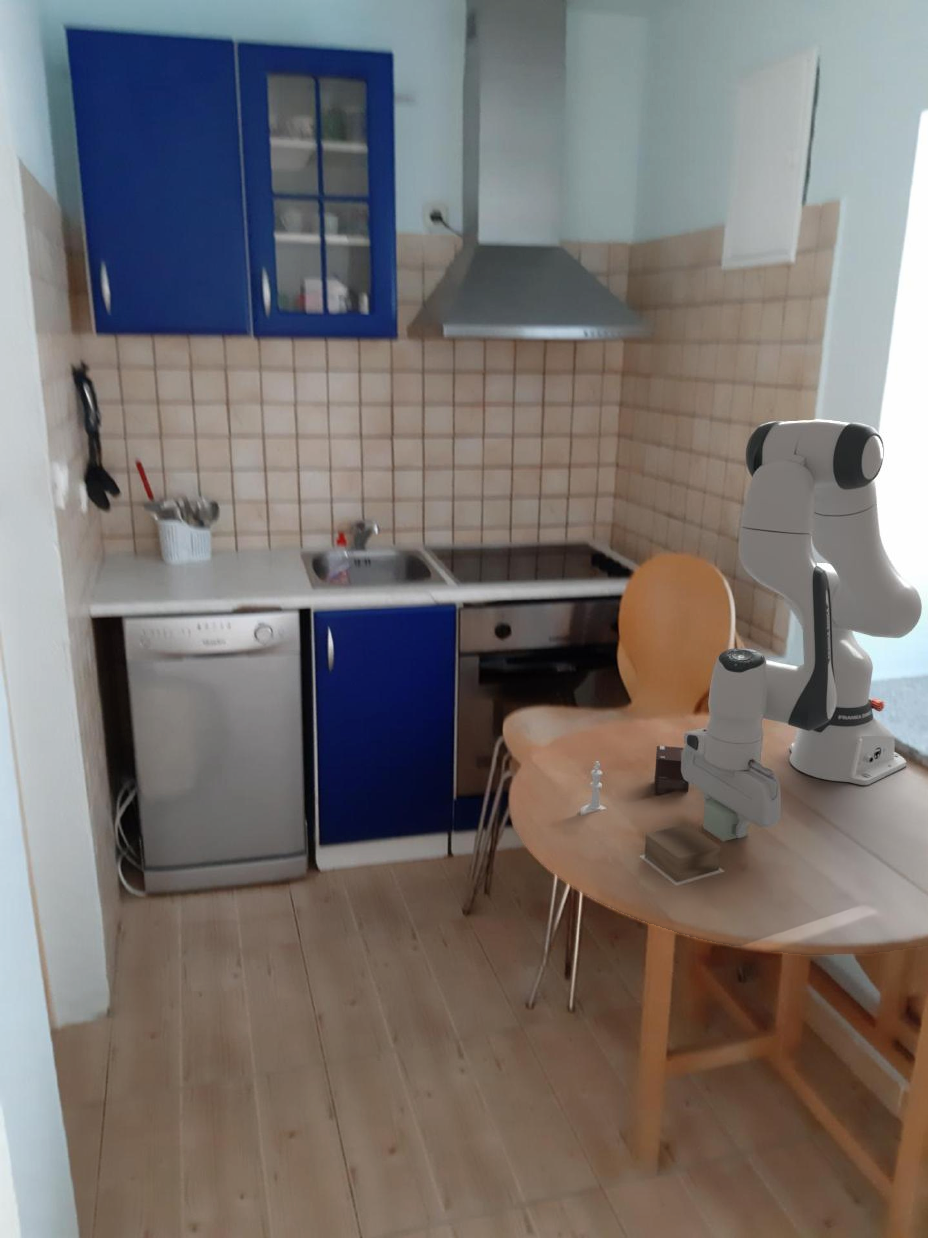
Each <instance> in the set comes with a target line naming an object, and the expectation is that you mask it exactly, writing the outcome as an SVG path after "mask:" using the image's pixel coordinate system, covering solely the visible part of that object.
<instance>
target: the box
mask: <svg viewBox="0 0 928 1238" xmlns="http://www.w3.org/2000/svg"><path fill="white" fill-rule="evenodd" d="M683 748H684V747H678V746H666V745H665V746H663V745H656V753H655V754H656V756H655V770H654V781H653V782H654V787H653V788H654V793H653V794H654V795H655V796H663V795H667V794H668V795H669V794H671V793H676V792H681V793H683V792H685V793H688V792H689V787H690V786H689V785H690V783H689V782H687V781H686V780H684V778H683V776H682V773H681V761H682V752H683Z"/></svg>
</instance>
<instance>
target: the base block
mask: <svg viewBox="0 0 928 1238" xmlns="http://www.w3.org/2000/svg"><path fill="white" fill-rule="evenodd" d="M644 846H645V847H644V855H645V858H646V859H648V860H649V861H650V862H651V863H653V864H654V865H655V866H657V867H658V868H659V869H660V870H662V871H663V872H664V873H665V874H667V875H668V876H669V877H671V878H672V879H673V880H674V881H676V882H680V881H684V880H687V879H690V878H694V877H697V876H701V875H704V874H707V873H711V872H714V871H717V870H719V867H720V864H721V863H720V862H721V861H720V860H721V852H722V851H721V849H722V846H721V845H719V844H718V843H716V842H715V841H713V840H712V839H710V838H709V837H708V836H706V835H704V834H703V833H702V832H700V831H699V830H697V829H696V828H694V827H693V826H692V825H691V824H689V823H683V824H679V825H676V826H672V827H669V828H664V829H661V830H658V831H652V832H650V833H649V832H648V833H646V834H645V845H644Z"/></svg>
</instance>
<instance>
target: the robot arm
mask: <svg viewBox="0 0 928 1238" xmlns="http://www.w3.org/2000/svg"><path fill="white" fill-rule="evenodd" d="M884 451H885V447H884V442H883V439H882V437H881V435H880V434H879V433H878V431H877V430H876V429H875V427H872V426H870V425H867V424H866V423H865V424H864V423H861V422H856V421H855V422H842V421H836V420H828V419H813V420H796V421H795V420H794V421H783V420H776V421H770V422H765V423H763V424H760V425H759V426H758V427H756V429H755V430H754V431H753V433H752V434H751V435H750V437H749V439H748V442H747V444H746V450H745V460H746V461H745V463H746V465H747V470H748V472H749V474H750V476H751V477H752V478H751V481H750V483H749V487H748V489H747V494H746V497H745V502H744V504H743V509H742V516H741V522H740V529H739V537H738V558H739V561H740V563H741V565H742V567H743V568H744V571H746V573H748V575H749V576H750V577H752V578H753V579H754V580H755V581H756V582H758V583H759V584H761V585H763V587H766V588H767V589H770V590H772V591H773V592H775V593H776V594H779V595H780V596H781V597H783V599H784V602H785V605H786V606H787V608H788V609H789V610H790V611H791V612H792V613H793V615H794V616H795V617H796V619H797V621H798V623H799V625H800V628H802V629H801V630H802V648H803V664H801V665H797V664H791V663H786V662H781V661H775V660H770V659H768V658H766V657H765V656H764V655H763V654H762V653H761V652H759V651H757V650H754V649H751V648H747V647H746V648H745V647H737V648H736V647H734V648H730V649H726V650H724V651H722V652H721V653H719V654H718V656H717V658H716V660H715V663H714V668H713V671H712V675H711V681H710V685H709V686H710V687H709V691H708V693H709V695H708V701H707V702H708V704H707V705H708V711H709V719H708V721H707V723H706V727H703V728H698V729H693V730H689V731H687V732H684V733H683V743H684V744H685V745H683V747H682V748H683V752H682V761H681V773H682V776H683V778H684V780H686V781H687V782H689V785H692V786H693V787H695V788H697V789H699V790H700V791H702V793H701V796H702V800H703V803H704V804H705V802H708V801H712V800H717V801H719V802H720V803H722V804H723V805H725V806H727V807H728V808H730V809H731V810H733V811H734V812H736V813H738V819H739V820H740V821H739V823H738V824H733V825H732V834H734V835H735V836H737V837H738V838H739V839H740V838H743V837H746V836H747V835H746V831H747V827H748V828H749V825H750V824H753V825H755V826H756V827H758V828H761V829H763V828H768V827H771V826H775V825H777V824H778V822H780V821H781V814H782V813H781V811H782V810H781V809H782V807H781V805H782V797H781V787H780V786H781V785H780V781H779V780H778V778H777V777H776V775H775V772H774V771H773V770H771V768H767V767H765V766H764V765H763V764H761V758H762V749H763V740H764V730H763V729H764V728H763V725H762V724H763V719H764V720H771V721H773V722H778V723H783V724H787V725H788V726H791V727H794V728H797V729H796V732H795V737H794V738H795V739H794V742H792V743H790V747H789V749H790V751H791V754H790V756H789V758H788V760H789V762H790V764H791V765H792V766H793V768H794V769H796V770H798V771H800V772H802V773H803V774H805V775H808V776H810V777H814V778H817V779H822V780H826V781H833V782H846V783H852V784H855V785H861V786H869V785H871V784H873V783H875V782H877V781H879V780H881V779H884V777H887V776H888V775H892V774H893V773H895V772H897V771H899V770H901V769H904V768H905V767H906V766H907V761H906V759H905V758H904V757H903V756H902V755H901V754H899V753H898V752H895V744H896V742H895V737H894V734H893V733H892V732H891V731H890V730H889V728H887V727H885V726H884V725H883V724H882V723H880V721H879V720H878V719H876V718H875V717H874V713H873V710H875V711H877V712H882V711H883V709H885V703H884V701H882V700H878V699H877V698H872V699H870V690H871V684H872V677H873V670H874V668H873V667H874V666H873V661H872V659H871V657H870V655H869V654H868V653H867V652H866V651H865V649H863V647H861V645H860V644H859V643H858V641H857V640H856V637H855V635H854V633H853V632H855V633H857V634H858V633H859V634H863V635H866V636H870V637H874V638H887V639H901V638H903V637H905V636H906V635H908V634H910V632H912V631H913V630H914V629H915V627H916V626H917V625H918V623H919V621H920V619H921V615H922V609H923V608H922V600H921V597H920V594H919V592H918V590H917V589H916V588H915V587H914V586H913V585H911V584H910V583H909V582H908V581H907V580H906V579H905V578H904V577H903V576H902V575H901V574H900V573H899V571H897V569H896V567H895V566H894V564H893V562H892V560H890V558H889V556H888V554H887V552H886V550H885V547H884V545H883V542H882V539H881V532H880V525H879V514H878V503H877V502H878V500H877V499H878V497H877V488H876V480H875V479H876V478H877V476H878V475H879V473H880V471H881V469H882V465H883V462H884V455H885V454H884V453H885V452H884ZM812 545H813V547H814V549H815V551H816V552H817V554H818V555H819V556H820V557H821V558H823V559H824V560H825V561H826V562H827V563H825V562H822V563H821V562H817V561H816V559H815V557H814V553H813V549H812ZM747 832H748V831H747Z"/></svg>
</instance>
